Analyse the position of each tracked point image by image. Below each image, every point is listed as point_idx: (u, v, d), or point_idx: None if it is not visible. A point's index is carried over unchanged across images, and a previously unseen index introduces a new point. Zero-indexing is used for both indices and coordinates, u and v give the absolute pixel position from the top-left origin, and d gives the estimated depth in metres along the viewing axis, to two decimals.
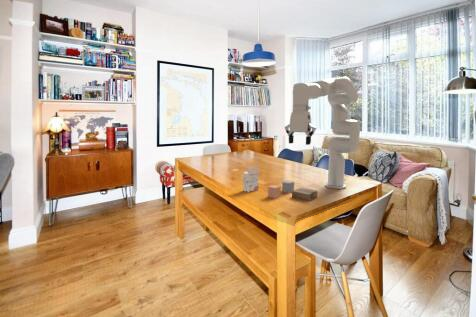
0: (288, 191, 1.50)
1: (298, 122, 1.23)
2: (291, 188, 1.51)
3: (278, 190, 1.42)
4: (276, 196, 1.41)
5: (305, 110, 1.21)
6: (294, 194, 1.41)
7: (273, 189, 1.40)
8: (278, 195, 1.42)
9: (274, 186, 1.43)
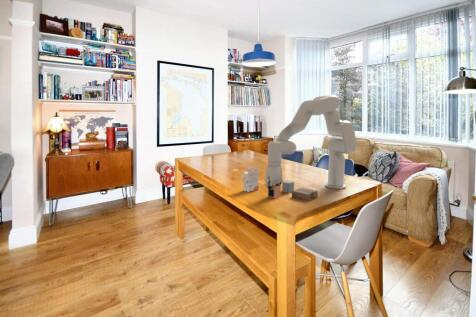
0: (288, 191, 1.50)
1: (278, 175, 1.40)
2: (291, 188, 1.51)
3: (278, 190, 1.42)
4: (276, 196, 1.41)
5: None
6: (294, 194, 1.41)
7: (273, 189, 1.40)
8: (278, 195, 1.42)
9: (274, 186, 1.43)
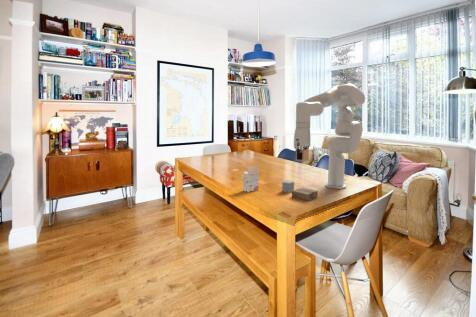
0: (288, 191, 1.50)
1: (307, 137, 1.36)
2: (291, 188, 1.51)
3: (307, 153, 1.37)
4: (305, 159, 1.37)
5: None
6: (294, 194, 1.41)
7: (302, 152, 1.36)
8: (307, 158, 1.38)
9: (302, 149, 1.38)
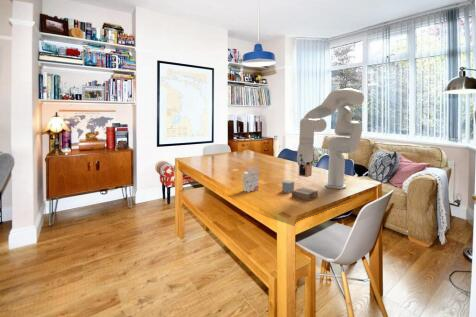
0: (288, 191, 1.50)
1: (310, 153, 1.37)
2: (291, 188, 1.51)
3: (310, 169, 1.38)
4: (308, 175, 1.37)
5: None
6: (294, 194, 1.41)
7: (305, 167, 1.37)
8: (309, 174, 1.39)
9: (305, 165, 1.39)
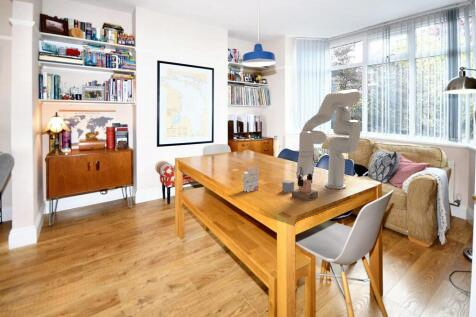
0: (288, 191, 1.50)
1: (310, 165, 1.38)
2: (291, 188, 1.51)
3: (309, 184, 1.40)
4: (307, 190, 1.39)
5: None
6: (294, 194, 1.42)
7: (305, 183, 1.38)
8: (309, 189, 1.41)
9: (305, 180, 1.41)
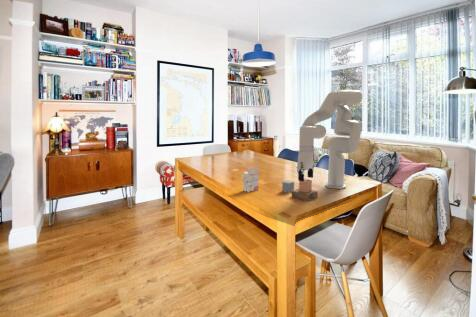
0: (288, 191, 1.50)
1: (310, 160, 1.38)
2: (291, 188, 1.51)
3: (310, 184, 1.40)
4: (308, 190, 1.39)
5: None
6: (294, 194, 1.41)
7: (305, 183, 1.38)
8: (310, 189, 1.41)
9: (305, 180, 1.41)
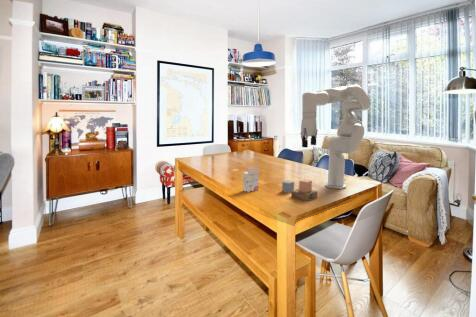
0: (288, 191, 1.50)
1: (313, 127, 1.40)
2: (291, 188, 1.51)
3: (310, 184, 1.40)
4: (308, 190, 1.39)
5: None
6: (293, 194, 1.41)
7: (305, 183, 1.38)
8: (309, 189, 1.40)
9: (305, 180, 1.41)
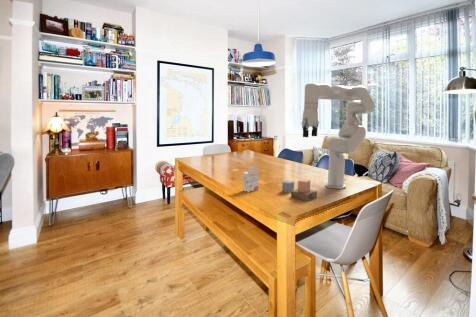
0: (288, 191, 1.50)
1: (315, 117, 1.42)
2: (291, 188, 1.51)
3: (308, 184, 1.40)
4: (307, 190, 1.39)
5: None
6: (293, 194, 1.41)
7: (304, 183, 1.38)
8: (308, 189, 1.40)
9: (304, 180, 1.41)
